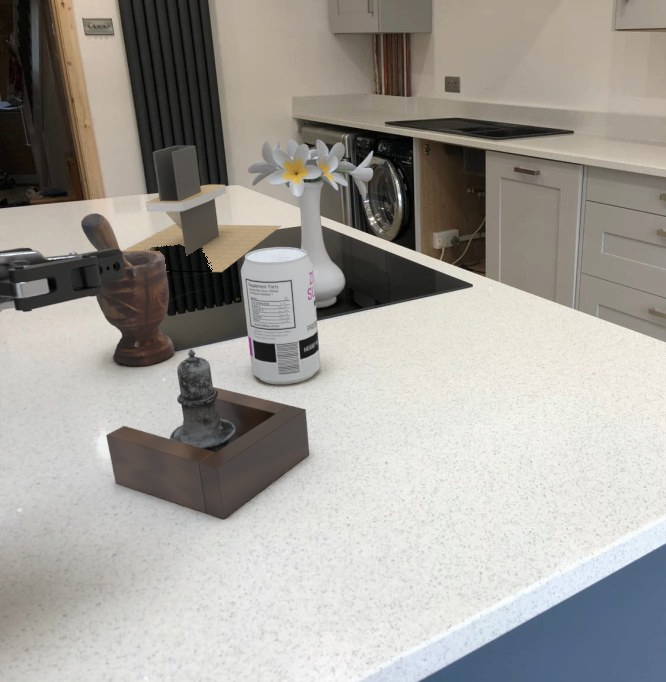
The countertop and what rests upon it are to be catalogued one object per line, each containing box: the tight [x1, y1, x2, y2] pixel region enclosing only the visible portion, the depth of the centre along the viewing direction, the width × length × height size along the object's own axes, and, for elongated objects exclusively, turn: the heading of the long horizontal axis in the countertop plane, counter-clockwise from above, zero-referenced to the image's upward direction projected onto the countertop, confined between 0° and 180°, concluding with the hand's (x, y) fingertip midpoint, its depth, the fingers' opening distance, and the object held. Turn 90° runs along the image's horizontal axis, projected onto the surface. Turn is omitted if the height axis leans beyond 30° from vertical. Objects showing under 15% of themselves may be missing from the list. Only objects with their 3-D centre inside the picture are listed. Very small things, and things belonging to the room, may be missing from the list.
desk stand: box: [105, 386, 310, 520], centre depth 69 cm, size 13×12×5 cm
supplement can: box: [240, 246, 321, 385], centre depth 88 cm, size 8×8×15 cm
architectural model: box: [121, 145, 281, 273], centre depth 147 cm, size 38×25×20 cm, turn 177°
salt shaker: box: [169, 349, 236, 453], centre depth 68 cm, size 6×6×12 cm
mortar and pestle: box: [80, 212, 175, 367], centre depth 90 cm, size 12×9×20 cm
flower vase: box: [247, 139, 374, 309], centre depth 112 cm, size 13×18×25 cm
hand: (74, 262), depth 55 cm, fingers open, 8 cm apart
